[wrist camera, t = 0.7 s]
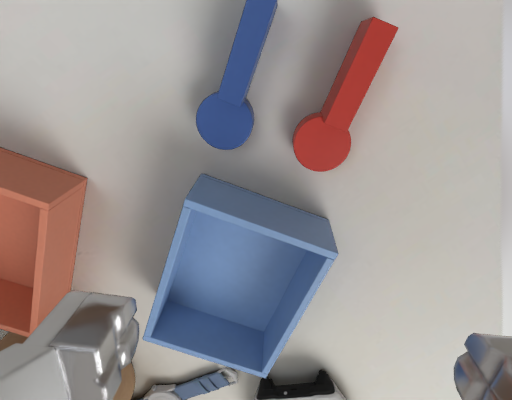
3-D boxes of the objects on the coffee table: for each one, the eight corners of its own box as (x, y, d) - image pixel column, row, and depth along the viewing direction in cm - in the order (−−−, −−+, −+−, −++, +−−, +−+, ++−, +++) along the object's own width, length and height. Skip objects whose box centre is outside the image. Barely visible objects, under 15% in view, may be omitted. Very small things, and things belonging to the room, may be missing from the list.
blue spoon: (236, -13, 21) (230, -22, 18) (294, 12, 21) (297, 6, 18) (194, 133, 25) (184, 143, 22) (243, 151, 25) (239, 164, 22)
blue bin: (201, 173, 26) (185, 198, 22) (329, 219, 27) (338, 253, 23) (161, 299, 32) (142, 340, 27) (267, 333, 33) (265, 378, 28)
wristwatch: (246, 381, 36) (245, 390, 35) (111, 426, 41) (108, 434, 40) (226, 357, 35) (224, 365, 34) (89, 406, 40) (85, 414, 39)
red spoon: (344, 13, 21) (353, 8, 18) (400, 37, 21) (417, 35, 18) (284, 153, 25) (285, 166, 22) (332, 172, 25) (338, 186, 23)
